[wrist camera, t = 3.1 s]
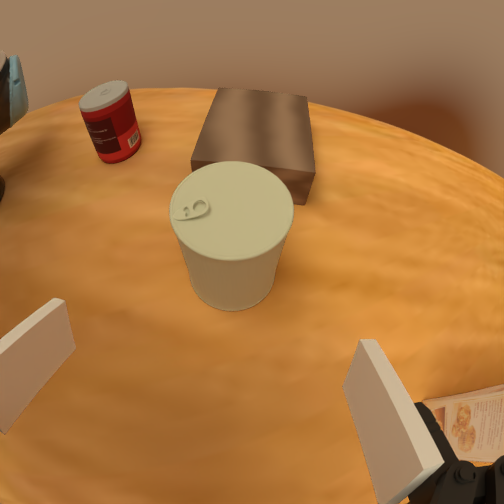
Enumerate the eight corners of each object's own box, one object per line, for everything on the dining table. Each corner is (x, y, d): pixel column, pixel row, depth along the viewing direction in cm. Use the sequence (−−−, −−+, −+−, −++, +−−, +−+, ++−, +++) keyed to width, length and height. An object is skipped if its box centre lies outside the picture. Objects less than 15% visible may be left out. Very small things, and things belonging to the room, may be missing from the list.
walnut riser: (195, 194, 34) (190, 160, 29) (219, 116, 43) (218, 87, 38) (304, 205, 35) (315, 172, 29) (300, 125, 43) (306, 96, 38)
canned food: (138, 128, 41) (125, 75, 32) (146, 153, 38) (130, 94, 28) (98, 143, 39) (79, 92, 30) (100, 171, 36) (76, 115, 26)
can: (182, 245, 31) (160, 170, 20) (258, 225, 33) (269, 147, 22) (201, 322, 27) (179, 273, 16) (287, 296, 29) (317, 237, 18)
